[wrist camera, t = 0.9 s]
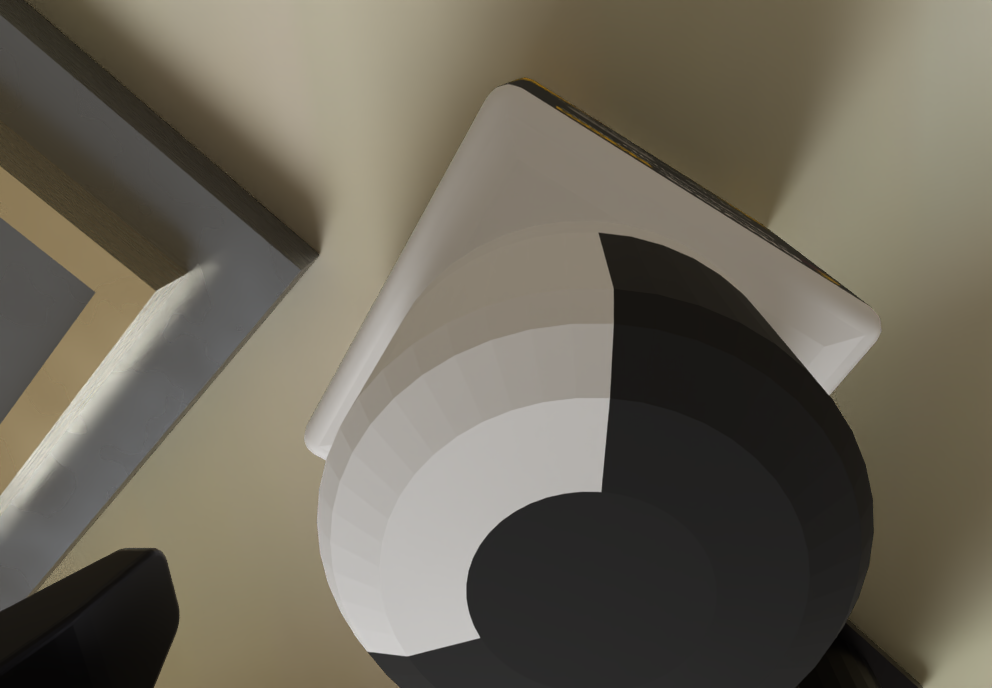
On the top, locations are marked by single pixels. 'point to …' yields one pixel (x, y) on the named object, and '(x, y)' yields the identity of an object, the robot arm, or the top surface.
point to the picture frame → (107, 289)
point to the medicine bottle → (593, 429)
